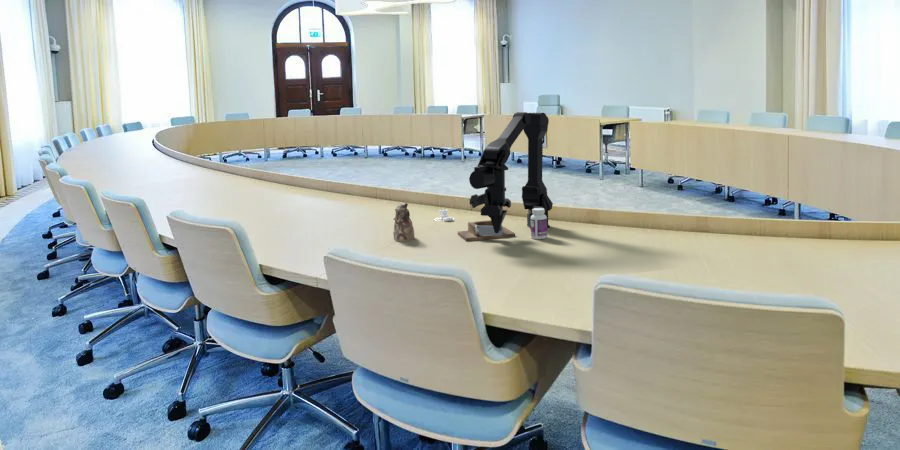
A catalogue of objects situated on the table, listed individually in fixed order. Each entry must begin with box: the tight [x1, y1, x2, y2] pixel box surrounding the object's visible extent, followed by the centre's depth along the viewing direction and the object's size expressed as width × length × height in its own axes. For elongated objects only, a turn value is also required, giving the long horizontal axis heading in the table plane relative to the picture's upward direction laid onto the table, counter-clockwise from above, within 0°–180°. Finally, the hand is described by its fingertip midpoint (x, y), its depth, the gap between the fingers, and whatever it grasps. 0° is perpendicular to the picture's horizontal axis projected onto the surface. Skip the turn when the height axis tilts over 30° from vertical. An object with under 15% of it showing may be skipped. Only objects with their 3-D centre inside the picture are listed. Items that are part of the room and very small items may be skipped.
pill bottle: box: [530, 208, 548, 240], centre depth 226 cm, size 5×5×10 cm
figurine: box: [392, 202, 415, 242], centre depth 232 cm, size 7×7×12 cm
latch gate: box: [475, 225, 504, 236], centre depth 227 cm, size 9×2×3 cm, turn 71°
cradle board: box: [457, 219, 516, 242], centre depth 233 cm, size 17×11×4 cm, turn 104°
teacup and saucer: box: [433, 208, 455, 223], centre depth 262 cm, size 9×8×4 cm
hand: (496, 233), depth 224 cm, fingers closed
